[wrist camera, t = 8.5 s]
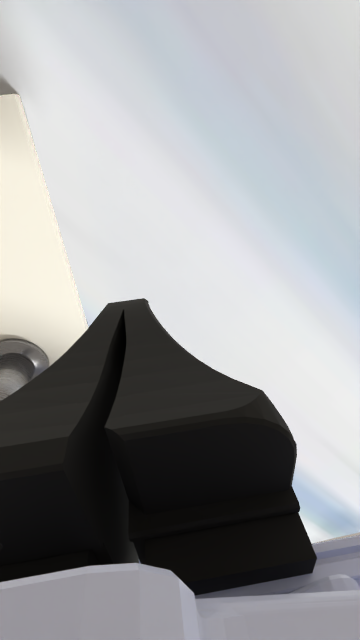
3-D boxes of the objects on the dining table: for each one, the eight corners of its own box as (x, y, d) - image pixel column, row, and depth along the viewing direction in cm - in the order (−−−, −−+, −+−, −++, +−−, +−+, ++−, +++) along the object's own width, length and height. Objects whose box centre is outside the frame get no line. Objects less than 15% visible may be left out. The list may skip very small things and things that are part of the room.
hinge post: (59, 372, 23) (34, 453, 18) (4, 380, 23) (-40, 465, 17) (41, 327, 21) (6, 402, 15) (-20, 336, 21) (-78, 415, 15)
